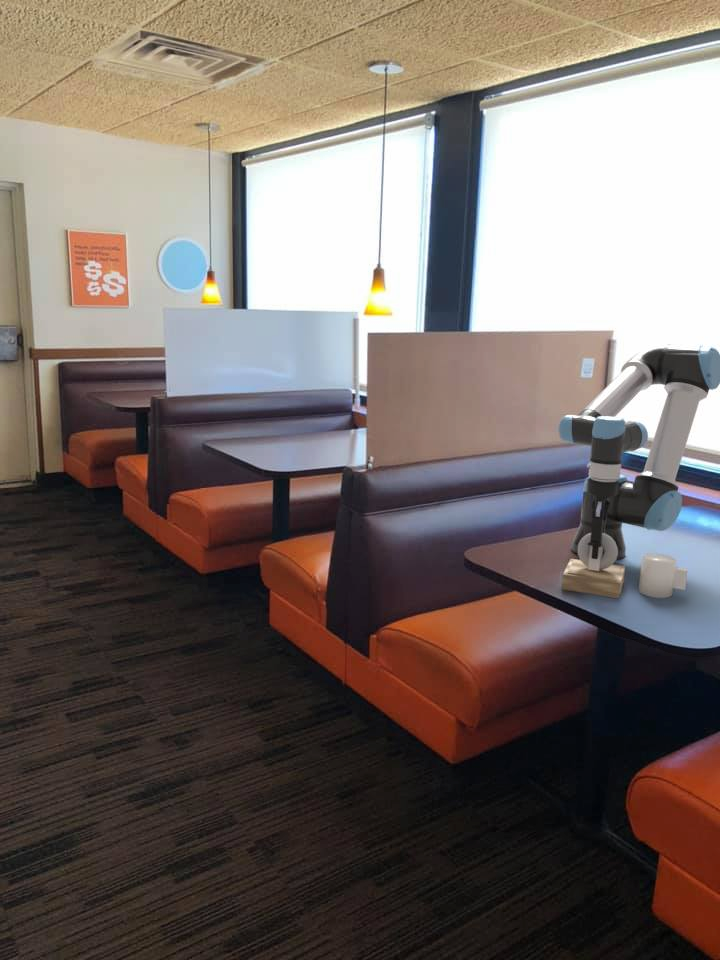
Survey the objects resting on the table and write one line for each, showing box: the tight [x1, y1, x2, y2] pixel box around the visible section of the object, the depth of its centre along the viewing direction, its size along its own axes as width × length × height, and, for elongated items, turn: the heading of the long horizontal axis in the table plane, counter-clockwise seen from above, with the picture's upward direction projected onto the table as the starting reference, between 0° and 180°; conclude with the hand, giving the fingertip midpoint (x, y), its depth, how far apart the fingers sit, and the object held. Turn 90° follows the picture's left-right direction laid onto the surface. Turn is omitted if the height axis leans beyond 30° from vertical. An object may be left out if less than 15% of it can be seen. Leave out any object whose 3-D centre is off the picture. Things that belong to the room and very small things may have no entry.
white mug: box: [638, 552, 688, 599], centre depth 192 cm, size 8×11×9 cm
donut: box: [577, 533, 618, 570], centre depth 195 cm, size 10×4×10 cm, turn 67°
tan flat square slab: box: [561, 558, 626, 599], centre depth 197 cm, size 14×14×4 cm
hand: (594, 567), depth 196 cm, fingers closed on donut, 3 cm apart
